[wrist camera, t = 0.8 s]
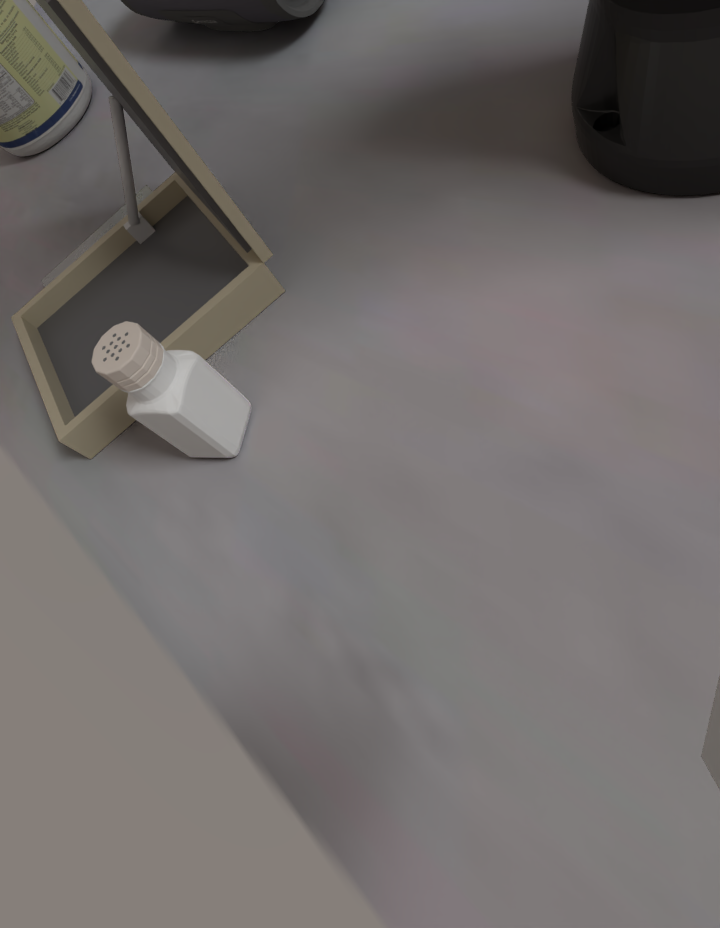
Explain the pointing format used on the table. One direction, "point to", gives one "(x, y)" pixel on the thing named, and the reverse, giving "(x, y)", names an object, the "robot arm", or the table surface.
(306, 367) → the table surface
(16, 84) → the supplement tub
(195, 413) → the pepper shaker
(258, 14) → the bluetooth speaker
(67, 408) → the case
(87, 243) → the bar
